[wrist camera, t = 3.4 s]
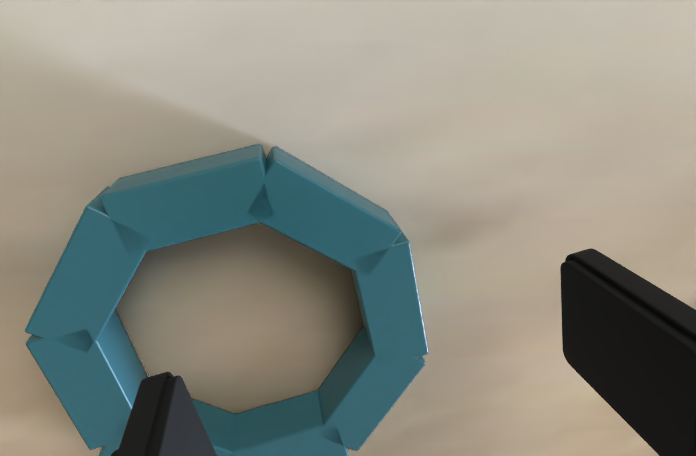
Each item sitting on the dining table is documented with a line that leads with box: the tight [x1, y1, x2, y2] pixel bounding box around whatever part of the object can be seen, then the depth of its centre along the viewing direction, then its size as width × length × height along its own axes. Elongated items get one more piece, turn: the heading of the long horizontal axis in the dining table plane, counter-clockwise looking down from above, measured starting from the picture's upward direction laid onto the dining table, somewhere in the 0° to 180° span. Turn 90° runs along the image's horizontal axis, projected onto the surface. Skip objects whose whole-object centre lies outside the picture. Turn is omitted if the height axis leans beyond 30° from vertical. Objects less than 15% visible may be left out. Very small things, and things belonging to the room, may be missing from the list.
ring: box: [25, 144, 428, 456], centre depth 13 cm, size 10×10×2 cm
